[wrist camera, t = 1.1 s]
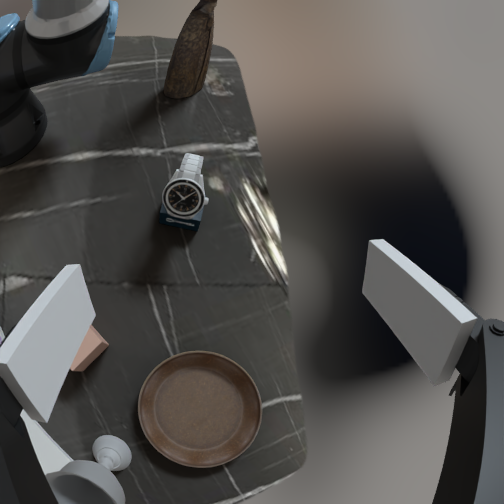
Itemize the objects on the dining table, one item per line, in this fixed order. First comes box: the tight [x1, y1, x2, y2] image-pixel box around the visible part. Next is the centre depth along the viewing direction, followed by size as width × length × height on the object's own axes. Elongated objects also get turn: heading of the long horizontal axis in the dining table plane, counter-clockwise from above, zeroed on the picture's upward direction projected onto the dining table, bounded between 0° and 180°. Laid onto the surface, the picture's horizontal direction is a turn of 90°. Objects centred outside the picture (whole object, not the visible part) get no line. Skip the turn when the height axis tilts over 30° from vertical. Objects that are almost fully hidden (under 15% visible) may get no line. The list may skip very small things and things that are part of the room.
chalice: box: [45, 435, 132, 504], centre depth 19 cm, size 7×7×18 cm
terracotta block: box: [70, 325, 109, 371], centre depth 29 cm, size 5×5×5 cm
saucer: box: [138, 351, 262, 468], centre depth 32 cm, size 15×15×3 cm
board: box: [20, 409, 74, 475], centre depth 21 cm, size 15×14×1 cm
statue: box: [164, 0, 217, 98], centre depth 41 cm, size 9×8×25 cm
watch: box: [159, 153, 208, 231], centre depth 37 cm, size 6×8×11 cm
